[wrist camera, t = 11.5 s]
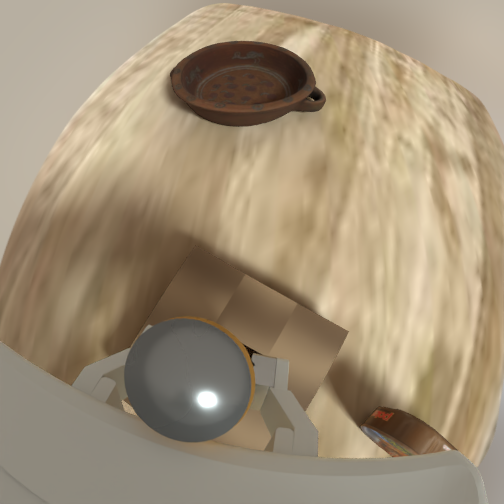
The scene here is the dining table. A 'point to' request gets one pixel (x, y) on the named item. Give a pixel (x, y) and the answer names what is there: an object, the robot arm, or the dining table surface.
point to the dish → (245, 83)
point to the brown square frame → (252, 330)
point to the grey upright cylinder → (189, 379)
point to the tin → (403, 433)
